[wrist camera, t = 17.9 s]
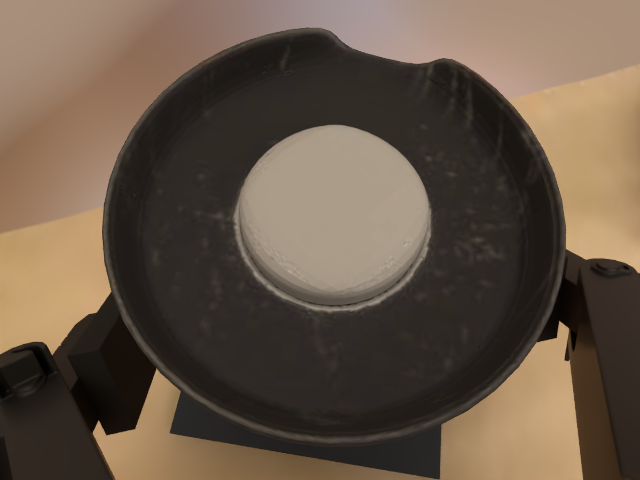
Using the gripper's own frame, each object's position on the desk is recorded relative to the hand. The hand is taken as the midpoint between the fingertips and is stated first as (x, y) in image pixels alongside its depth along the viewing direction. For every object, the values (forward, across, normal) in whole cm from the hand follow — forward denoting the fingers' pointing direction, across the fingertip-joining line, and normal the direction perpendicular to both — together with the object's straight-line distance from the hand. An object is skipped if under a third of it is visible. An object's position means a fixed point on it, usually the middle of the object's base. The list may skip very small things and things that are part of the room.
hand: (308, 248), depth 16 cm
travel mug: (+5, 0, -9) cm, 11 cm away
